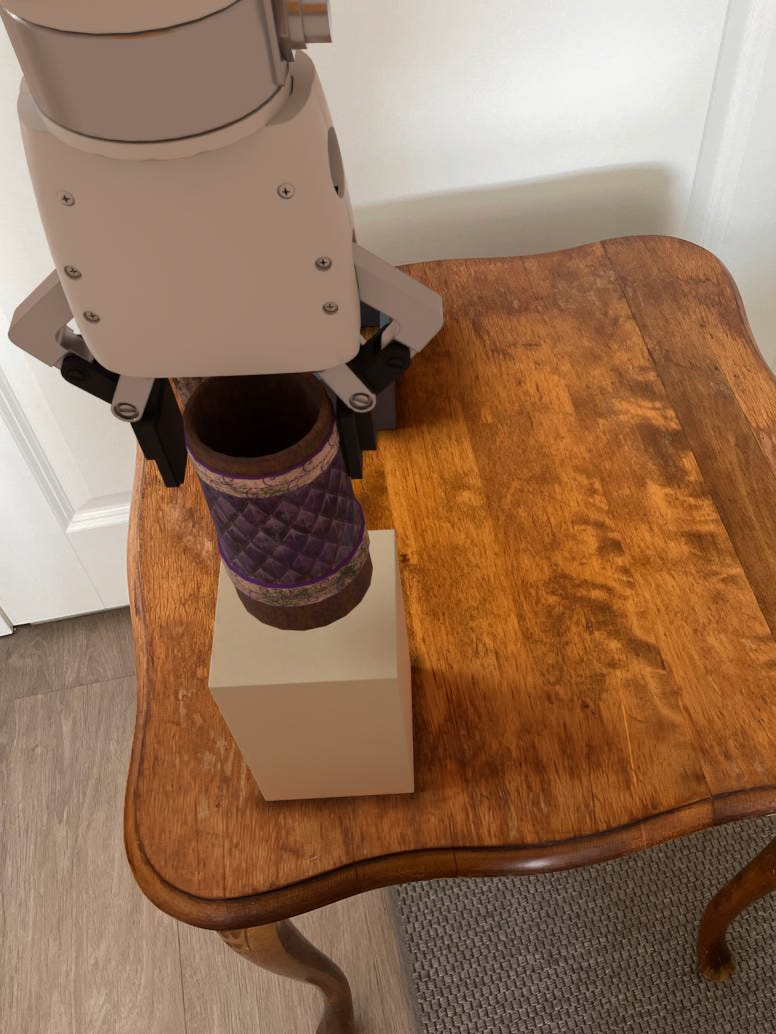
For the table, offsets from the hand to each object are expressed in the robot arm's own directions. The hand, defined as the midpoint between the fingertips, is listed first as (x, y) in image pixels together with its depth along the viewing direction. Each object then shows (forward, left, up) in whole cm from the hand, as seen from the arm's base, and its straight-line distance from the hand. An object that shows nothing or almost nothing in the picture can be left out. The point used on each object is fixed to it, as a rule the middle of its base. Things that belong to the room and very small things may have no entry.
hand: (267, 457), depth 42 cm
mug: (0, 0, -8) cm, 8 cm away
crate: (-2, +35, -28) cm, 45 cm away
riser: (0, 0, -28) cm, 28 cm away
